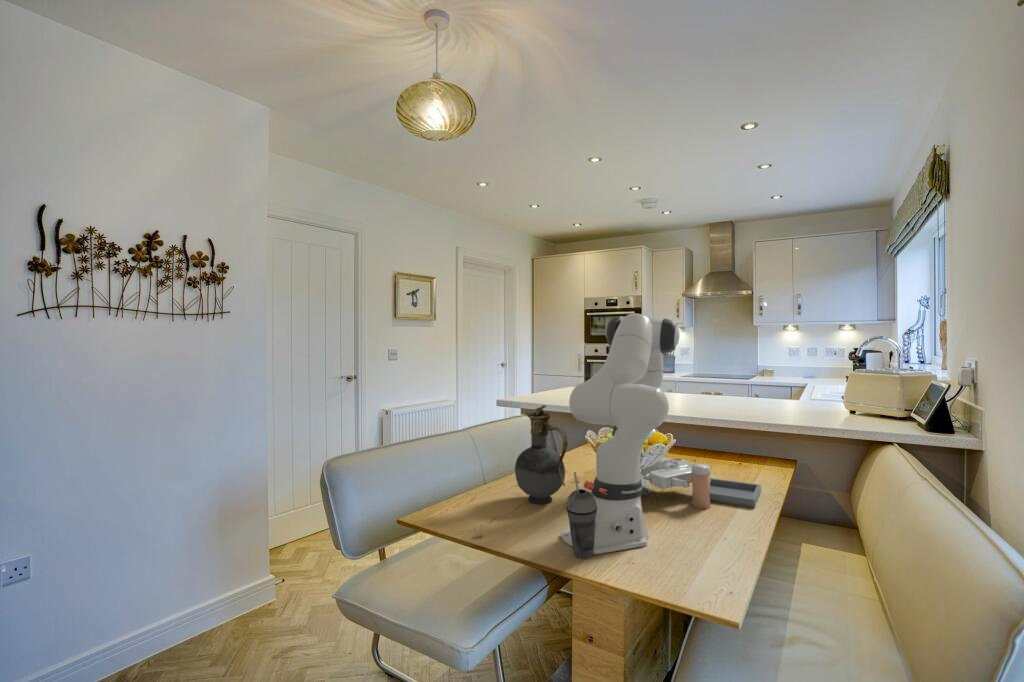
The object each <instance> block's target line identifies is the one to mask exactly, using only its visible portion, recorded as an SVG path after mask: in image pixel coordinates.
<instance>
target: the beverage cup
mask: <svg viewBox="0 0 1024 682" xmlns="http://www.w3.org/2000/svg"><path fill="white" fill-rule="evenodd" d="M573 476H574V483H575V488H576V489H575V490H574V491H572V492H571V493H570V494H569V496H568V497H567V499H566V506H565V509H566V513H567V516H568V521H569V522H568V523H569V528H570V530H571V538H572V545H573V547H572V549H573V554H574V556H575V557H576V558H578V559H582V560H587V559H591V558H592V557H593V555H594V554H593V550H594V536H595V517H596V513H597V504H596V501H595V498H594V496H593V495H592V494H591V491H589V490H587V489H582V488H579V484H578V483H579V482H578V477H577V473H576V471H574V472H573Z"/></svg>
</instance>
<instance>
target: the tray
mask: <svg viewBox="0 0 1024 682" xmlns="http://www.w3.org/2000/svg"><path fill="white" fill-rule="evenodd" d="M760 493H762V485H761V484H757V483H750V482H742V481H737V480H735V481H734V480H729V479H720V478H712V477H711V482H710V502H713V503H718V502H719V504H725V503H727V505H731V504H734V505H733V506H737V505H740V507H744V506H746V507H745V508H750V507H752V508H751V509H755V508H756V506H757V504H758V501H759V499H758V498H760V496H761V494H760ZM756 503H757V504H756Z"/></svg>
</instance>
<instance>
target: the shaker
mask: <svg viewBox="0 0 1024 682" xmlns="http://www.w3.org/2000/svg"><path fill="white" fill-rule="evenodd" d="M710 477H711V466H710V465H709V464H704V463H694V464H693V465H692V483H691V487H692V490H691V495H692V497H691V498H692V501H691V502H692V506H693V507H694V508H696V507H697V508H696V509H700V508H703V509H702V510H707V508H708V509H710V508H711V501H710Z"/></svg>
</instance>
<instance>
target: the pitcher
mask: <svg viewBox="0 0 1024 682" xmlns="http://www.w3.org/2000/svg"><path fill="white" fill-rule="evenodd" d="M547 406H548V405H546V404H545V405H542V406H540V407H536V408H534V409H533V411H529V412H524V416H526V417H527V418H529V421H530V434H531V436H530V437H531V438H530V439H531V446H530V447H528V448H526V449H524V450H523V451H522V452H521V453H519V455H518V456H517V458H516V460H515V465H514V474H515V475H514V476H515V480H516V482H517V485H518V487H519V489H520V490H521V491H523V493H525V494H526V495H527V500H528V501H529V502H530V503H532V504H534V505H535V504H536V505H546V504H550V503H552V502H553V497H552V496H553V495H554V494H555V493H557V492H558V491H559V490H560V489H561V487H562V486H563V487H564V488H565V485H566V483H565V478H566V468H565V467H566V466H565V464H564V461H563V459H564V457H565V455H566V451H567V448H568V445H569V444H568V436H567V433H566V430H565V429H564V428H563V427H562V426H560V425H558V424H552V425H550V424H549V419H550V418H552V416H551V415H552V412H545V410H544V409H545V408H547ZM549 431H550V432H551V431H556V432H559V434H560V435H561V439H562V443H563V444H562V452H561V455H560V454H559V453H558V451H556V450H555V449H553V448H552V447H549V446H548V434H549Z"/></svg>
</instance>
